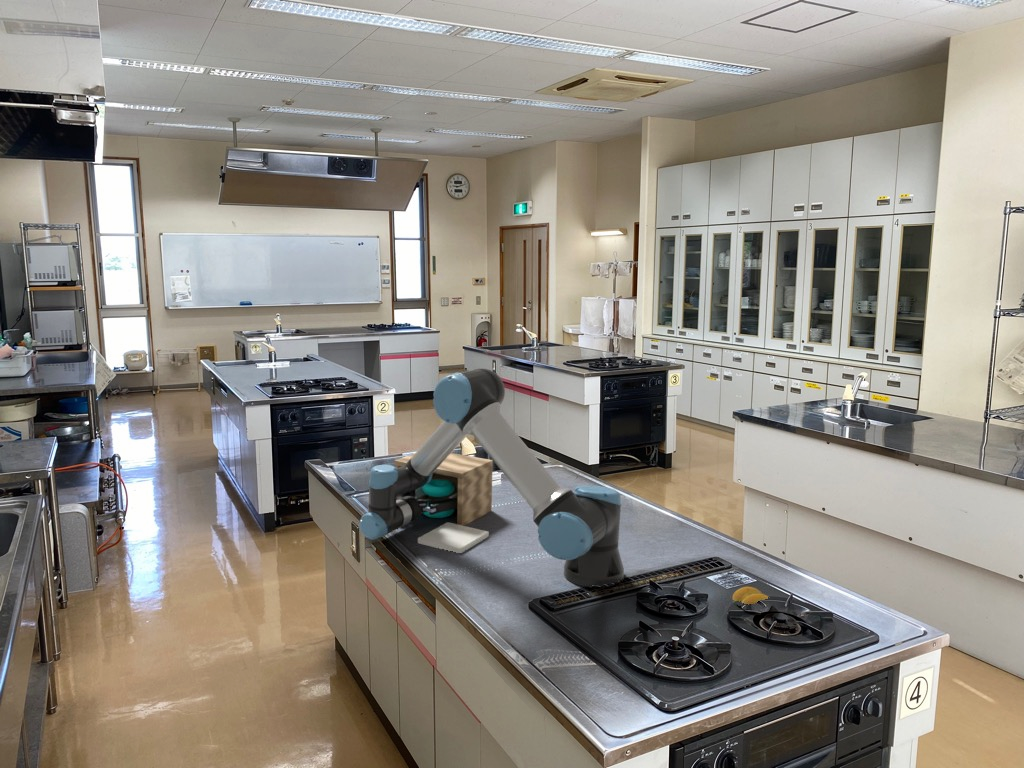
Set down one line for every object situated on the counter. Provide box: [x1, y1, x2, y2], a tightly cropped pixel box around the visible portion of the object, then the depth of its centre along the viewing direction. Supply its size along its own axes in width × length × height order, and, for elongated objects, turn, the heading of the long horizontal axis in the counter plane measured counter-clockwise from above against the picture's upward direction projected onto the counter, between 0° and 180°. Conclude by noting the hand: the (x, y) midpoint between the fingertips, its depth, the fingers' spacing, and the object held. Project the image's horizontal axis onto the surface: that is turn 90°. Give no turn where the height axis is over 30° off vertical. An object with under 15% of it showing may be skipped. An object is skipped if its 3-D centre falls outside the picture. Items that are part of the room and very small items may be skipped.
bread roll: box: [732, 586, 769, 605], centre depth 174 cm, size 8×9×4 cm
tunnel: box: [393, 452, 494, 526], centre depth 231 cm, size 18×25×16 cm
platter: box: [417, 522, 490, 554], centre depth 209 cm, size 15×14×2 cm
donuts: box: [422, 479, 455, 519], centre depth 229 cm, size 10×10×10 cm
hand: (444, 492), depth 232 cm, fingers open, 12 cm apart
